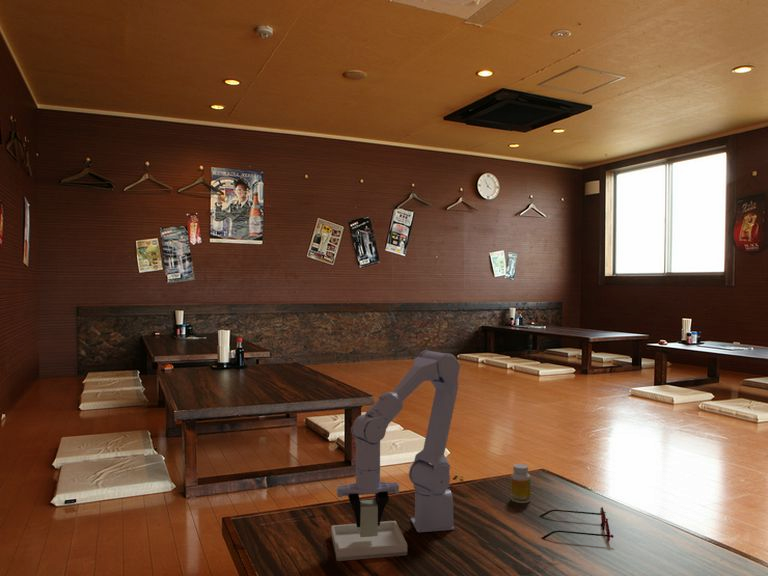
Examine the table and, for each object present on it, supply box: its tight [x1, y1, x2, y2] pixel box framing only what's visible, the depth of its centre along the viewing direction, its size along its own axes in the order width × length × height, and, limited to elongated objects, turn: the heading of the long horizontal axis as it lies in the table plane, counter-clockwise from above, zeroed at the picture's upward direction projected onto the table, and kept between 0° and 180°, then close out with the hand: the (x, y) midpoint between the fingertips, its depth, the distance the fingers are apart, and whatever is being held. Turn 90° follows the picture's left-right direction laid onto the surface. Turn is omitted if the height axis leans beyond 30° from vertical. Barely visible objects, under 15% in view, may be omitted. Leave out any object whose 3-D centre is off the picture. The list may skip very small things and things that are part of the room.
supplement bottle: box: [510, 463, 531, 504], centre depth 164 cm, size 5×5×10 cm
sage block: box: [358, 499, 378, 537], centre depth 136 cm, size 4×4×7 cm
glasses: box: [538, 506, 615, 542], centre depth 145 cm, size 14×16×5 cm
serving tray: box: [330, 520, 408, 562], centre depth 136 cm, size 16×13×2 cm
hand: (367, 524), depth 136 cm, fingers closed on sage block, 4 cm apart
